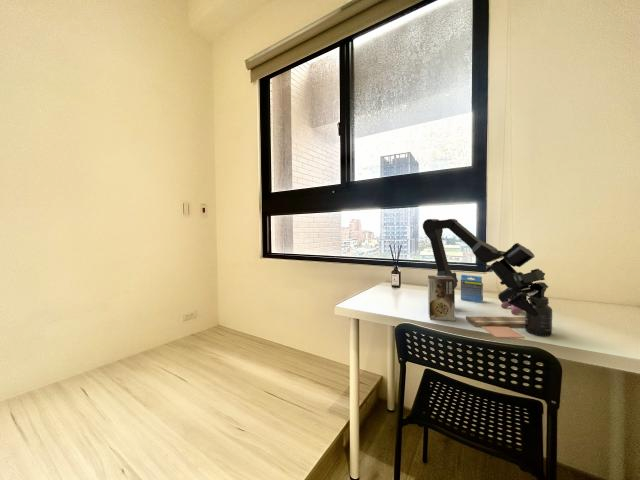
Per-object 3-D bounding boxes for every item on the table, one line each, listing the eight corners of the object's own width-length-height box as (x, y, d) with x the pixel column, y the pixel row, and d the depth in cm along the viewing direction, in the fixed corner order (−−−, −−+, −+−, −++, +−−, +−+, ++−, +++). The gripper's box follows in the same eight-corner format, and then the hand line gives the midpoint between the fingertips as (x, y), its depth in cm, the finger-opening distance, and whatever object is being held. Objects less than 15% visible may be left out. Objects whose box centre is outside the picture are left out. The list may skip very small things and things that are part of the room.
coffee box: (452, 315, 103) (452, 275, 102) (455, 321, 97) (455, 278, 96) (427, 313, 106) (427, 274, 105) (428, 319, 100) (428, 277, 99)
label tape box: (483, 301, 121) (483, 275, 121) (481, 303, 118) (481, 276, 118) (462, 298, 127) (462, 273, 126) (460, 300, 124) (460, 274, 123)
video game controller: (522, 319, 102) (532, 303, 101) (511, 313, 103) (520, 298, 102) (509, 311, 112) (517, 296, 111) (499, 306, 112) (507, 291, 111)
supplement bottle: (519, 329, 89) (520, 294, 88) (538, 328, 89) (538, 293, 88) (538, 337, 82) (538, 300, 81) (557, 336, 82) (558, 299, 82)
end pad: (496, 337, 83) (496, 336, 83) (481, 327, 91) (481, 326, 91) (524, 337, 82) (524, 337, 82) (507, 327, 90) (507, 326, 90)
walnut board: (474, 326, 92) (474, 322, 92) (465, 319, 99) (465, 316, 99) (547, 327, 89) (547, 323, 89) (533, 320, 96) (533, 316, 96)
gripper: (508, 263, 84) (547, 305, 75) (542, 259, 91) (582, 297, 82) (484, 282, 92) (517, 323, 82) (517, 277, 99) (551, 314, 89)
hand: (543, 314), depth 84 cm, fingers open, 7 cm apart
